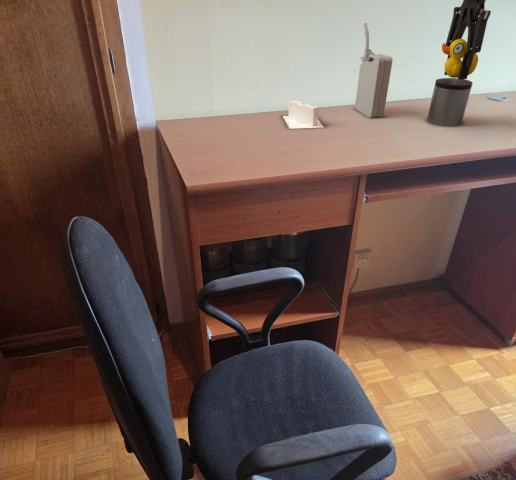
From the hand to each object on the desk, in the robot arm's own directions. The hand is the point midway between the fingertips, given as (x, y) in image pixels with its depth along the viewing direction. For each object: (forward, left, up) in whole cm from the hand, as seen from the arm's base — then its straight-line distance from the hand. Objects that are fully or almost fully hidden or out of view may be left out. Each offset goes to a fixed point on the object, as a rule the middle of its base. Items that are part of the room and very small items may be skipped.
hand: (455, 76), depth 140 cm
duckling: (0, 0, 0) cm, 0 cm away
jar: (0, 0, -13) cm, 13 cm away
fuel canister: (+5, +26, -13) cm, 30 cm away
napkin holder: (-13, +45, -13) cm, 49 cm away
